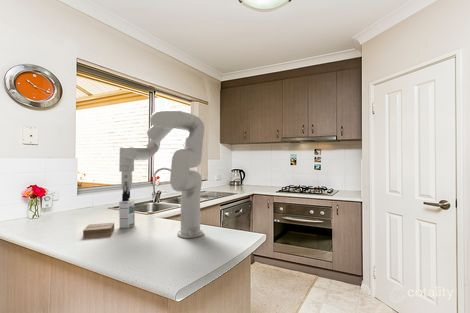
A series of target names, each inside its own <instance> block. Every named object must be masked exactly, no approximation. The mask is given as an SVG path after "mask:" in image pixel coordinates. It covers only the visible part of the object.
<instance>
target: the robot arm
mask: <svg viewBox="0 0 470 313" xmlns="http://www.w3.org/2000/svg"><path fill="white" fill-rule="evenodd" d="M149 122H150V124H151V126H150V128H148V130H147V131H146V134H147V137H148V138H149V140H150V141H149V142H148V143H147V144H146V145H144V146H143V145H131V146H121V147H119V159H118V160H119V168H118V170H119V171H118V172H120V173H121V181H120V182H121V190H122V193H121V201H129V200H130V198H131V190H132V189H133V172H135V161H146V160H150V159H151V158H152V157H154V155H155V154H157V152H158V151H159V149H160V145H161V141H162V140H163V139H164V138H166V136H167V135H168V134H169V133H171V131H172V130H173V129H176V130H183V131H188V133H187V134H186V137H185V141H184V142H185V143H184V147H180V148H178V149H176V150H175V151H174V153H173V155H172V157H171V166H170V176H169V179H170V180H169V182H170V183H169V184H170V186H171V189H172V190H174V191H175V192H181V195H180V230H179V231H177V233H176V235H177V236H178V238H183V239H194V238H195V239H196V238H199V237H202V236H203V235H204V231H203V230H202V229H201V193H202V192H201V189H202V184H203V179H202V176H201V174H200V173H199V171H197V170H194V169H193V170H192V168H197V167H199V166H200V165H201V162H202V155H203V145H204V143H203V142H204V137H205V123H204V122H203V120H202V119H201V118H200V117H198V116H197V115H195V114H192V113H190V112H186V111H183V110H176V109H175V110H173V109H171V110H169V109H168V110H165V109H164V110H156V111H154V112H153V113H152V114H151V116H150V118H149ZM190 169H191V170H190Z"/></svg>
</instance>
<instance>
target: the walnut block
mask: <svg viewBox="0 0 470 313" xmlns="http://www.w3.org/2000/svg"><path fill="white" fill-rule="evenodd" d="M114 230H115V222H105V223H103V222H102V223H92V224H87V226H86V227H85V228H84V229H83V230H82V232H83V233H82V237H83V238H82V239H88V238H89V239H90V238H100V237H101V238H102V237H111V236H112V235H113V232H114Z"/></svg>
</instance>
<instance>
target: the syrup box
mask: <svg viewBox="0 0 470 313" xmlns="http://www.w3.org/2000/svg"><path fill="white" fill-rule="evenodd" d="M118 206H119V208H118V214H119V218H118V220H119V222H118V223H119V224H118V225H119V228H120V229H121V228H123V229H129V228H132V227H134V226H135V200H134V199H129V201H122V200H120V201H118Z"/></svg>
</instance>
